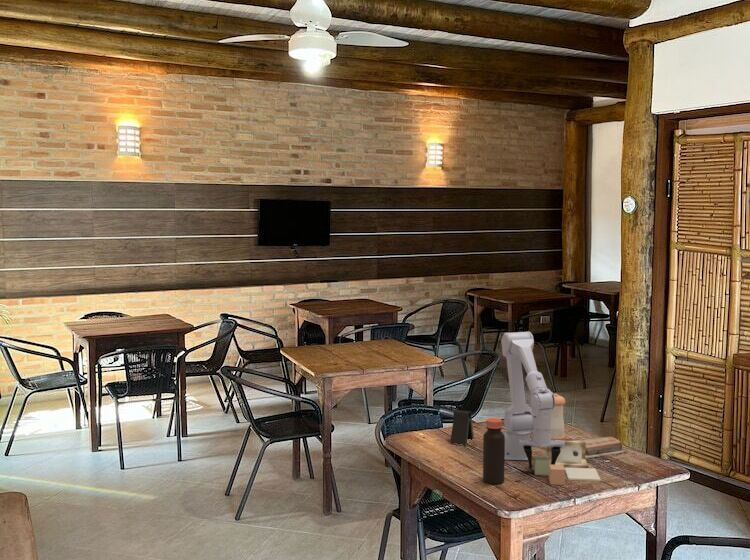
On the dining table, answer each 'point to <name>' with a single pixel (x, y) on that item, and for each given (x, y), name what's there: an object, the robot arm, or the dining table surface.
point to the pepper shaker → (557, 419)
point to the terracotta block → (557, 474)
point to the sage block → (541, 465)
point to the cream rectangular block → (570, 454)
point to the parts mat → (582, 474)
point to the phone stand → (462, 427)
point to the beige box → (571, 465)
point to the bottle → (493, 452)
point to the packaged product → (602, 447)
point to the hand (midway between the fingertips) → (541, 468)
